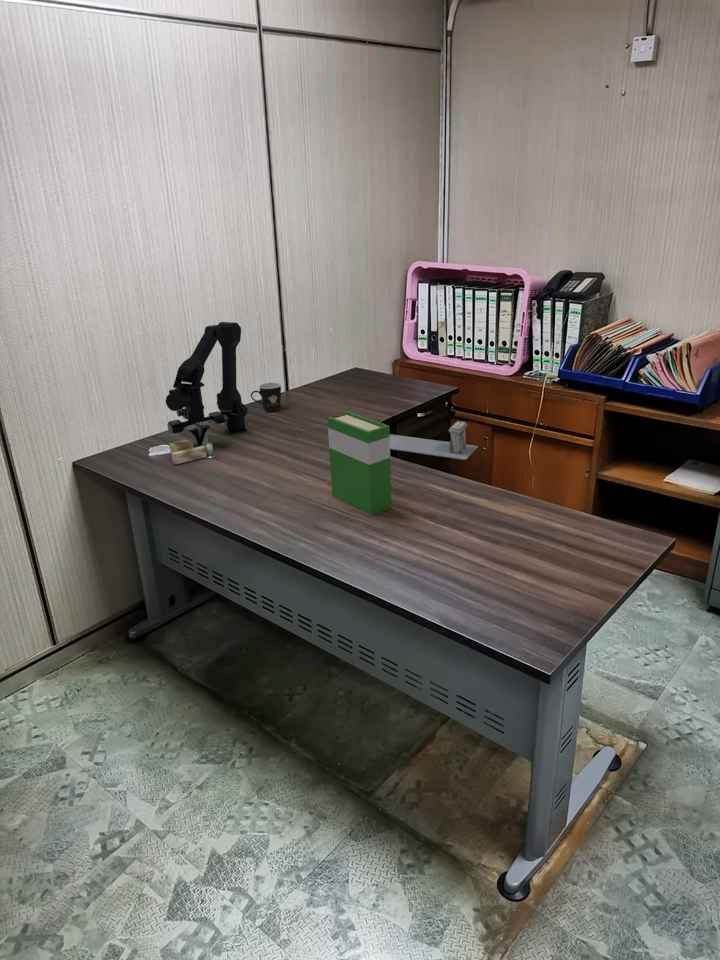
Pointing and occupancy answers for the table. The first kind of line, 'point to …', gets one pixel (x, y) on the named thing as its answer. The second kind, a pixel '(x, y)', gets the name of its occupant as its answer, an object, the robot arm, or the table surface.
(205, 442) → the post
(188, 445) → the oak block
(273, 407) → the coffee mug
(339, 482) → the hardback book
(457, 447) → the slab with upright peg
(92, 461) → the table surface
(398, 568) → the table surface
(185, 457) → the gate rail
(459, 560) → the table surface
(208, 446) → the metal door knob
